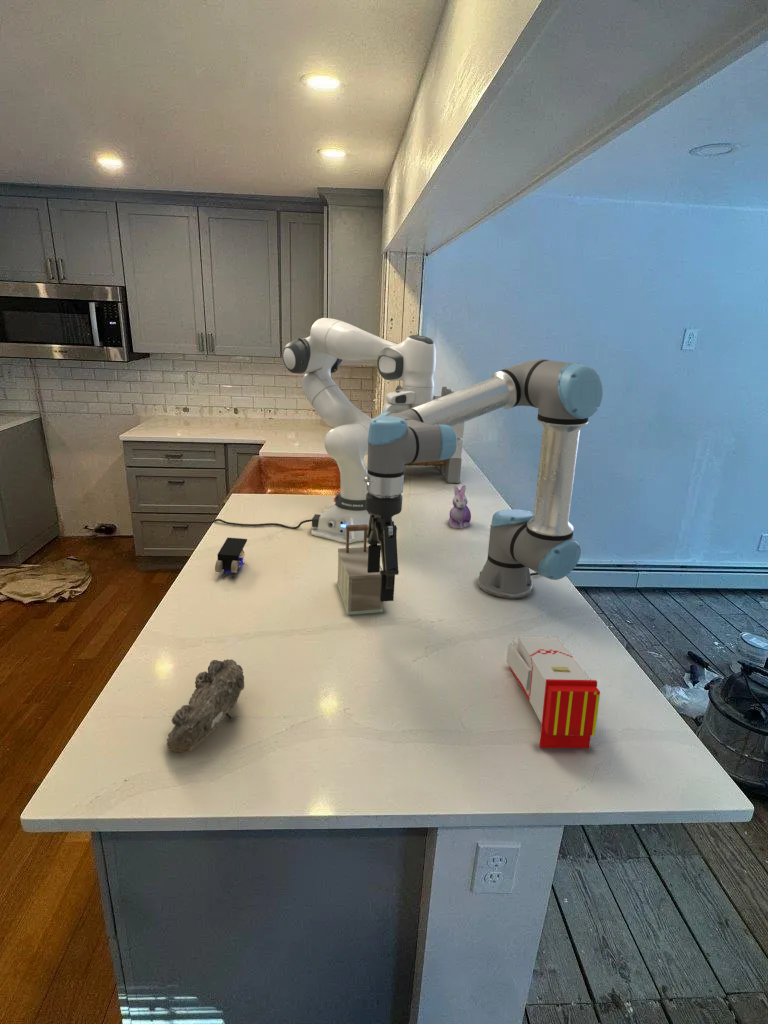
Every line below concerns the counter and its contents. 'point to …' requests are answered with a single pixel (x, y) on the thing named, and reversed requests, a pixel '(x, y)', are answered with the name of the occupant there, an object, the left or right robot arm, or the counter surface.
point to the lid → (356, 556)
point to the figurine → (459, 509)
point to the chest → (359, 593)
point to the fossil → (206, 705)
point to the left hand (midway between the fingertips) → (414, 444)
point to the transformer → (453, 464)
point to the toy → (555, 691)
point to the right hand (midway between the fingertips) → (379, 585)
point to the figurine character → (230, 556)
